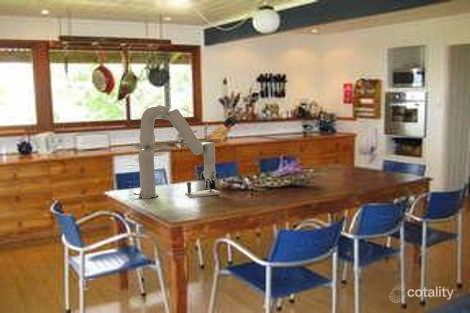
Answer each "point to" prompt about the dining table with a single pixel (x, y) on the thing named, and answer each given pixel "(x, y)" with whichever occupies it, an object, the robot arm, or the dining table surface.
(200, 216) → the dining table surface
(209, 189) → the slider leg
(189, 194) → the pitch plate
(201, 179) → the pneumatic valve
